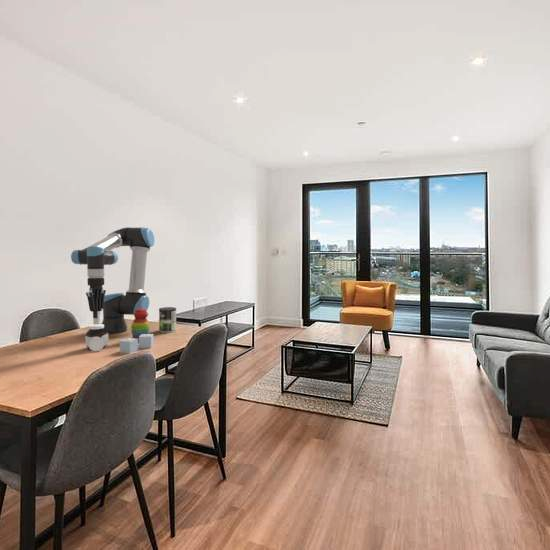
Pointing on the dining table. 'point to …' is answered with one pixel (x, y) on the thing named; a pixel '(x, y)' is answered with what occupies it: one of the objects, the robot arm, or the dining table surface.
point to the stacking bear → (140, 323)
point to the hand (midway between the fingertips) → (96, 324)
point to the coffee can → (167, 319)
